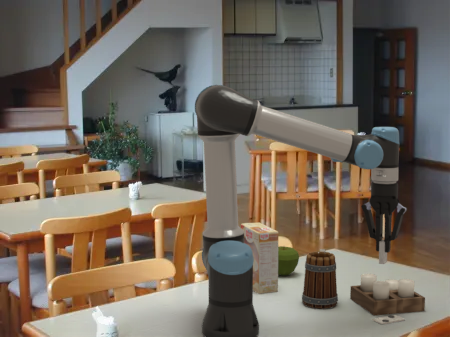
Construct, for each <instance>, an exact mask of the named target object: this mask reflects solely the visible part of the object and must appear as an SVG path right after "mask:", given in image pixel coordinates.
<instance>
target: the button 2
mask: <svg viewBox="0 0 450 337" xmlns="http://www.w3.org/2000/svg"><path fill="white" fill-rule="evenodd" d="M373 299H374V300H376V301H377V300H389V283H388V282H385V280H377V281H375V282H373Z"/></svg>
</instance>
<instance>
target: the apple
mask: <svg viewBox="0 0 450 337" xmlns="http://www.w3.org/2000/svg"><path fill="white" fill-rule="evenodd" d="M299 261H300V254H299V252H298V251H297V250H296V249H295V248H293V247H290V246H285V245H283V246H278V276H282V277H283V276H285V277H288V276H291V274H292V273H293V272H295V270H296V268H297V266H298V265H299Z"/></svg>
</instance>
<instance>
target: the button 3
mask: <svg viewBox="0 0 450 337" xmlns="http://www.w3.org/2000/svg"><path fill="white" fill-rule="evenodd" d="M398 280H399V279H392V278H391V279H385V280H384V281H385V282H388V283H389V290H398Z"/></svg>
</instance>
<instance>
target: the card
mask: <svg viewBox="0 0 450 337" xmlns="http://www.w3.org/2000/svg"><path fill="white" fill-rule="evenodd" d="M371 321H373V322H376V323H377V324H378V325H381V326H382V325H386V324H392V323H393V324H394V323H398V322H405V321H406V320H405V318H403V317H401V316H399V315H397V314H388V315H387V316H379V317H375V318H371Z"/></svg>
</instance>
